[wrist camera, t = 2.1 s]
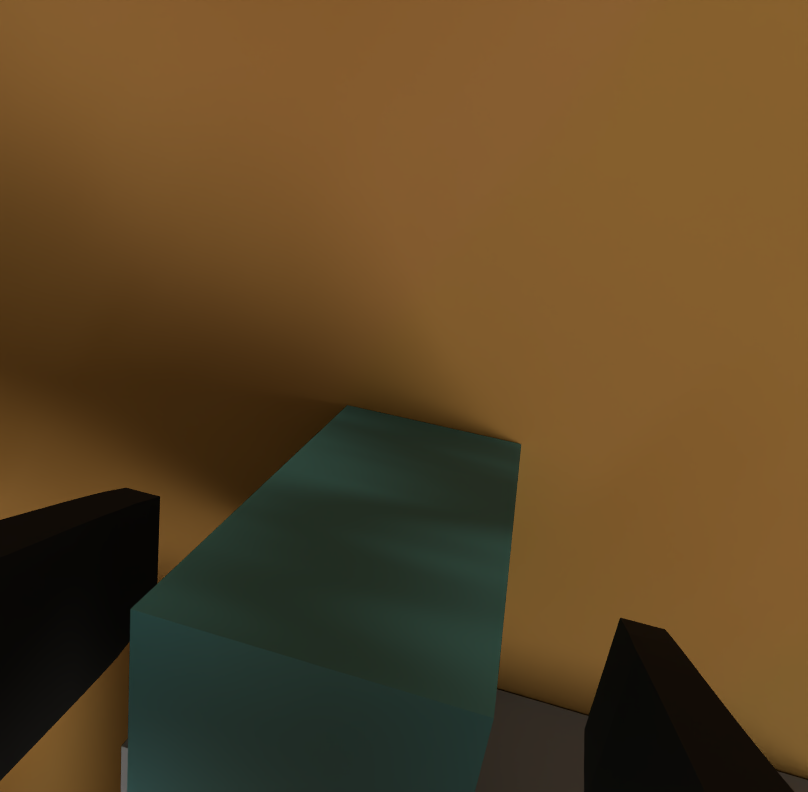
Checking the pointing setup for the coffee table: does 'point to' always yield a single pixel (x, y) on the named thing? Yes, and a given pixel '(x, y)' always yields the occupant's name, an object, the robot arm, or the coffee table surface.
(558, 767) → the well block
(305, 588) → the teal peg
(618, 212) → the coffee table surface
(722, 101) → the coffee table surface
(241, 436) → the coffee table surface
